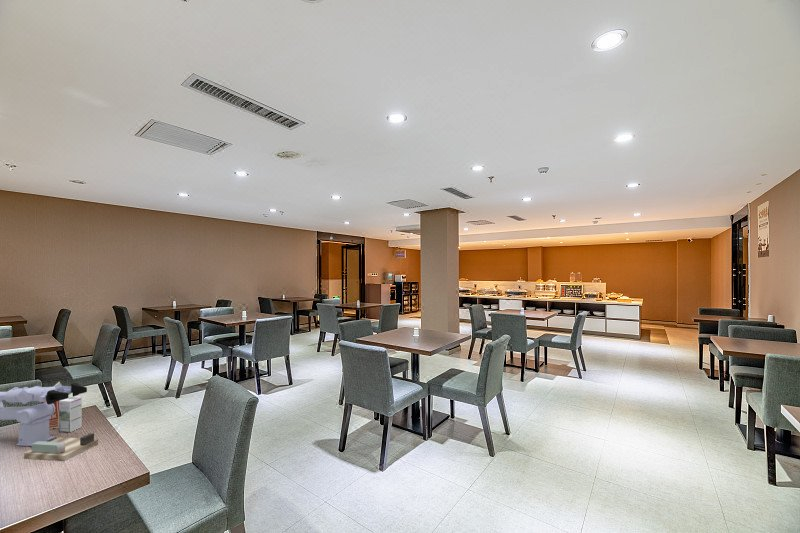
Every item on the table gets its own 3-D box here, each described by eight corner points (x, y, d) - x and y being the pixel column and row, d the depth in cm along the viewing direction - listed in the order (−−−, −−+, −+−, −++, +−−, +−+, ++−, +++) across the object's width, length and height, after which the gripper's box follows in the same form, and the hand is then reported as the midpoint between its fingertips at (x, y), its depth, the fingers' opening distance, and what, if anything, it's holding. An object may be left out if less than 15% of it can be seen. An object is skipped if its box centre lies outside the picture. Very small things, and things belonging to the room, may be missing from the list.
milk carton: (52, 422, 173) (53, 380, 174) (73, 421, 174) (73, 380, 175) (35, 430, 164) (35, 386, 165) (56, 429, 165) (57, 386, 165)
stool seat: (23, 458, 140) (23, 445, 140) (60, 441, 153) (60, 430, 153) (64, 460, 138) (64, 447, 138) (98, 443, 151) (98, 432, 151)
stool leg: (66, 450, 141) (66, 441, 141) (60, 453, 139) (60, 444, 139) (38, 448, 143) (38, 440, 143) (31, 451, 140) (31, 443, 140)
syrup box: (82, 427, 168) (82, 396, 168) (69, 432, 162) (69, 400, 162) (71, 426, 168) (71, 395, 168) (58, 432, 162) (58, 400, 162)
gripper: (29, 389, 146) (58, 388, 144) (66, 379, 160) (93, 378, 158) (29, 407, 146) (59, 406, 144) (67, 395, 160) (94, 394, 158)
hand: (77, 392), depth 151 cm, fingers open, 7 cm apart
